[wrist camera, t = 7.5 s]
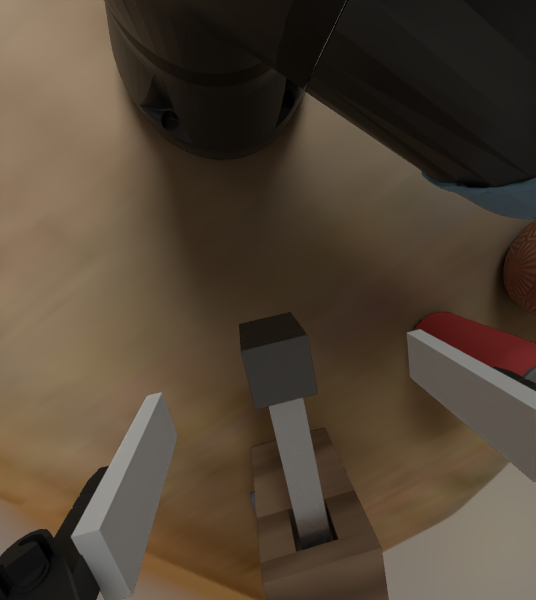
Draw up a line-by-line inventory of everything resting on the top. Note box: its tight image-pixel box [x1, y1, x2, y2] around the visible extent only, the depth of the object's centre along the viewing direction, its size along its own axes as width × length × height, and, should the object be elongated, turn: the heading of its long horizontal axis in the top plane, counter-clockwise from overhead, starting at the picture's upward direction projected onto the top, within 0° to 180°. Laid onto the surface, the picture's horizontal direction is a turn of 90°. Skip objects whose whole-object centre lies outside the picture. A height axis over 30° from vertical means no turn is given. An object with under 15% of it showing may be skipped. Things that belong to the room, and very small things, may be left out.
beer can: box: [414, 312, 536, 383], centre depth 26 cm, size 7×7×12 cm
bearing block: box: [251, 428, 389, 600], centre depth 27 cm, size 6×9×13 cm, turn 102°
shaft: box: [239, 312, 331, 550], centre depth 21 cm, size 23×4×5 cm, turn 12°
